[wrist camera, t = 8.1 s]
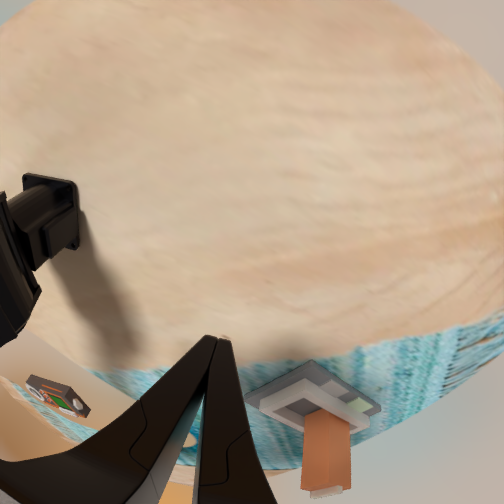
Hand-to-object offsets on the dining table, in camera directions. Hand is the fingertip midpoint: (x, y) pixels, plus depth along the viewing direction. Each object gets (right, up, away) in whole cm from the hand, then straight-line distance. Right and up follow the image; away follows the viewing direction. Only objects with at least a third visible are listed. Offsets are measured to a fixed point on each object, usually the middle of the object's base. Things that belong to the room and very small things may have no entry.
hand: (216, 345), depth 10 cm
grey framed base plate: (+8, -14, +22) cm, 28 cm away
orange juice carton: (+10, -16, +23) cm, 30 cm away
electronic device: (-34, -22, +34) cm, 53 cm away
